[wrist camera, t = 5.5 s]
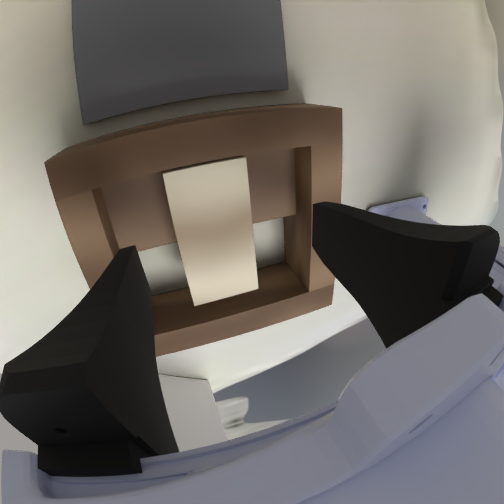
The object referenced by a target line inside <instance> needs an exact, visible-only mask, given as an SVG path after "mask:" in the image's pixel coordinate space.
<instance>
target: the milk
mask: <svg viewBox="0 0 504 504" xmlns="http://www.w3.org/2000/svg"><path fill="white" fill-rule="evenodd" d="M158 375H159V380H160V384H161V389H162V393H163V397H164V402H165V405H166V409H167V413H168V417H169V420H170V424H171V427H172V430H173V434H174V437H175V440H176V443H177V446H178V449H179V451H180V452H182V451H187V450H192V449H196V448H200V447H205V446H209V445H213V444H217V443H221V442H224V441H228V439H227V436H226V433H225V430H224V427H223V424H222V421H221V418H220V415H219V412H218V409H217V406H216V403H215V400H214V396H213V393H212V390H211V386H210V383H209V381H208V380H200V379H192V378H183V377H176V376H169V375H162V374H158Z"/></svg>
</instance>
